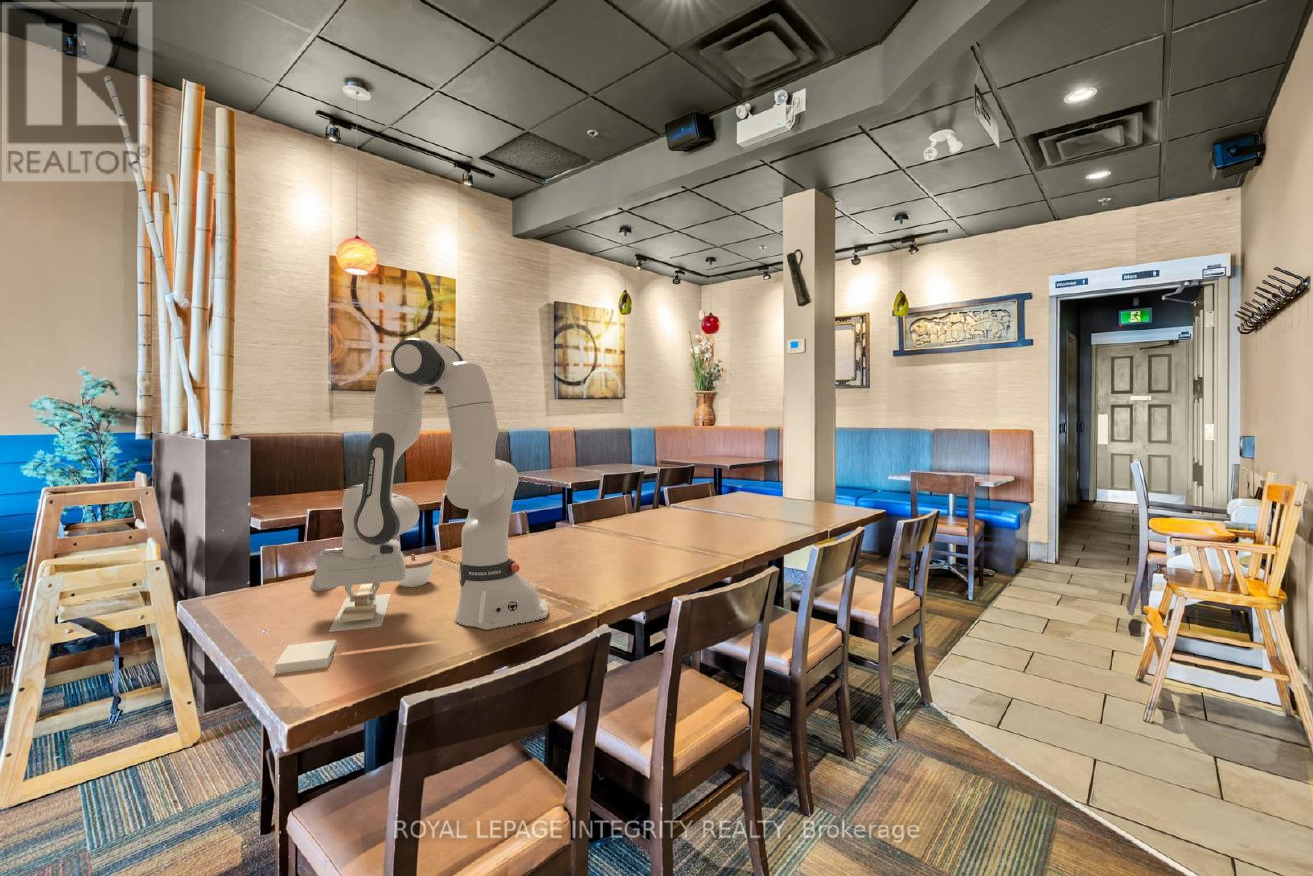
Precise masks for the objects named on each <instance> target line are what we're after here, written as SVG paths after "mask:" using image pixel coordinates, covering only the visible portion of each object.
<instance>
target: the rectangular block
mask: <svg viewBox="0 0 1313 876" xmlns="http://www.w3.org/2000/svg"><path fill="white" fill-rule="evenodd" d="M337 642H338V641H337V639H331V640H322V641H314V642H313V641H312V642H305V643H303V642H302V643H295V644H288V645H287V646H286V648H285V649H284V651H283V652H282V653H281V655H280V657H279V658H278V659H277V660H276V662H275V664H274V674H275V673H277V674H285V673H292V672H301V671H309V670H316V669H315V668H317V669H323V668H328V667H329V665H330V663H331V661H332V659H333V657H334V655H335V653H334V652H335V650H336V649H337V648H336V647H337V646H338V645H337V644H338V643H337ZM308 669H309V670H308Z"/></svg>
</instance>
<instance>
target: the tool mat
mask: <svg viewBox="0 0 1313 876" xmlns="http://www.w3.org/2000/svg"><path fill="white" fill-rule="evenodd" d="M390 597H391V593H384V594H382V593H381V594H376V599H375V600H371V601H370V604H369V605H373V604H377V609H376V612H375V615H374V618H373V619H366V620H357V621H347V622H340V617H341V615H342V613H343V611H344V609H345V607H353V606H355V602H350V596H349V597H345V598H344V602H343V603H342V605H341V607H340V609H339V611H338V613H337V614H336V616H335V619H334V620H333V622H332V624H331V626H330V628H329V630H328V633H331V632H332V633H333V632H340V631H350V630H358V629H367V628H370V629H371V628H379V627H383V626H382V625H383V622H384V618H385V616H386V613H387V609H388V606H389V601H390Z"/></svg>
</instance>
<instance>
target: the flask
mask: <svg viewBox="0 0 1313 876" xmlns="http://www.w3.org/2000/svg"><path fill="white" fill-rule="evenodd" d="M316 566H317V565H316ZM317 572H318V566H317V567H316V570H315V572H314V576H313V578H312V581H311V583H310V585H309V590H310V591H316V592H321V591H327V590H328V591H329V590H332V589H334V588H338V587H339V586H334V587H322V588H320V587H319V586H318V585H317Z"/></svg>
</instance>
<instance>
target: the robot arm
mask: <svg viewBox="0 0 1313 876" xmlns="http://www.w3.org/2000/svg"><path fill="white" fill-rule="evenodd" d="M390 355H391V356H390V363H391V367H392V368H389V369H386V370H383V371H382V372H381V373H380V374H379V376H378V378H377V382H376V387H375V393H374V399H373V417H372V418H373V421H372V431H371V436H370V440H369V443H368V447H367V451H366V458H365V465H364V467H365V469H364V476H363V483H361V484H356V485H352V486H348V487H347V488H346V489H345V491H344V494H343V496H342V503H341V504H342V505H341V521H342V523H343V531H342V538H341V539H342V543H341V544H342V547H339V548H338V547H337V548H330V549H328V548H325V549H322V550H321V551H319V552H318V553H317V554H316V555H315V564H316V566H318V572H317V585H318V586H319V587H320V588H322V587H334V586H338V587H343V586H344V590H345V592H346V593H347V595H348V596H349V597H350V602H355V597H356V594H357V592H356V593H354V592H353V590H352V588H353V586H356V585H361V584H369V583H373V585H374V591H373V592H369V601H370V600H375V599H376V595H377V591H379V588H380V586H381V583H388V582H389V583H391V582H397V581H402V580H403V579H404V578H405V577H406V565H405V559H404V557H405V556H404V553H403V552H402V551H401V543H400V541H399V540H396V539H394V538H396V537H398V536H400V535H403V534H404V533H406V532H408V531H410V530H412V529H413V528H415V526H417V524H418V522H419V519H420V516H421V512H420V507H419V505H418V503H417V502H416V501H415V500H414V499H413V498H411V497H410V496H406V495H401V494H397V493H395V492H393V487H394V485H393V484H394V475H395V467H396V465H397V462H398V461H399V459H400V458H401V456H402V455H403V454H404V453H405V452H406V450H408V449H409V448H410V447H412V446H413V445H414V443H416V442H417V441H418V439H419V436H420V433H421V428H422V415H423V414H422V410H423V409H422V408H423V407H422V406H423V404H422V403H423V397H424V395H425V393H426V391H427V390H430V391H436V390H438V389H441V391H442V393H443V396H444V400H445V406H446V413H447V416H448V422H449V428H450V434H451V443H452V444H451V445H452V447H451V448H452V451H451V467H450V471H449V475H448V477H447V479H446V481H445V486H444V487H445V494H446V497H447V498H448V500H449V502H450V503H451V504H452V505H454V506H455V507H457V508H459V509H466V510H468V513H467V516H466V519H465V523H464V525H463V526H462V529H461V561H460V562H459V571H458V572H459V573H458V574H459V585H460V591H459V594H460V595H459V599H458V600H459V601H458V605H457V610H456V615H455V618H454V620H455V622H456V623H457V624H459V625H462V626H466V627H475V628H478V629H481V630H493V629H499V628H504V627H509V625H510V626H514V625H513V624H515V625H518V624H517V623H521V624H525V622H526V623H531V622H536V621H535V620H537V621H540V620H539V619H542V618H545V619H546V618H547V617H548V616H549V609H548V605H547V604H546V603H545V602H543V601H542V600H540V596H539V593H538V590H537V587H535V585H534V584H533V583H532V582H531V581H529V580H527V579H526V578H524V577H523V576H521V575H520V574H518V572H519V571H520V569H521V567H520V565H519V563H517V562H516V561H515V560H514V559H513V558H510V557H509V523H510V518H511V513H512V509H513V503H514V502H513V501H514V496H515V491H516V490H517V487H518V485H519V480H520V479H519V473H518V471H517V469H516V468H515V466H513V465H512V464H511V463H510V462H507V461H505V460H501V459H497V458H496V446H497V440H498V438H499V428H498V422H497V417H496V416H497V415H496V412H495V406H494V401H493V400H494V399H493V396H492V392H491V389H490V385H489V382H488V379H487V376H486V374H485V371H484V369H483V368H482V366H481V365H479V363H476V362H474V361H469V360H468V361H467V360H464V358H463V357H462V355H461V354H460V353H459V352H458V351H457V350H456V349H454V348H453V347H451V346H448V345H445V344H442V343H440V342H438V341H435V340H431V339H423V338H420V337H413V338H406V339H404V340H401V341H400V342H398V343H397V344H396V345H395V346H394V347H393V350H392V351H391V354H390ZM547 615H548V616H547ZM542 620H543V619H542ZM530 621H531V622H530ZM498 627H499V628H498Z"/></svg>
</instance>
